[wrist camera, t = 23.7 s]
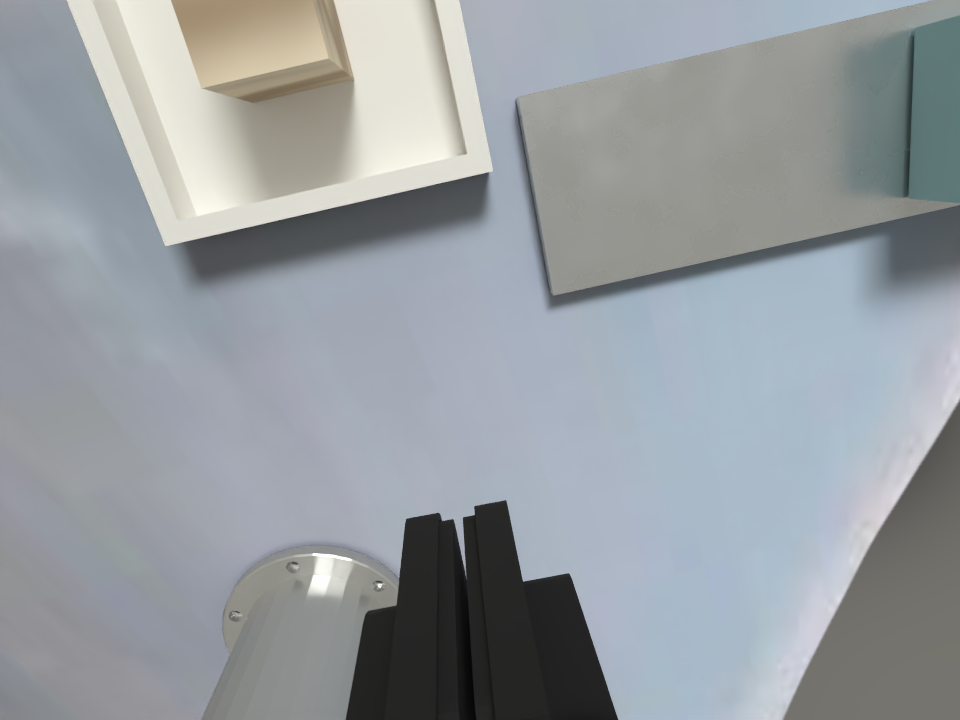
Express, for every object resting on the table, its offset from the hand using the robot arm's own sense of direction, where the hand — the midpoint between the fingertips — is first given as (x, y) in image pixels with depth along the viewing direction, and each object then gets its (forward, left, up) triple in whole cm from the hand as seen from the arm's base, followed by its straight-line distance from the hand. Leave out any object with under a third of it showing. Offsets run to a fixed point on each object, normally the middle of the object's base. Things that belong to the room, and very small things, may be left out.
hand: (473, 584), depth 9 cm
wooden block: (+14, +5, -23) cm, 27 cm away
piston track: (+4, -19, -24) cm, 30 cm away
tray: (+14, +5, -24) cm, 28 cm away
